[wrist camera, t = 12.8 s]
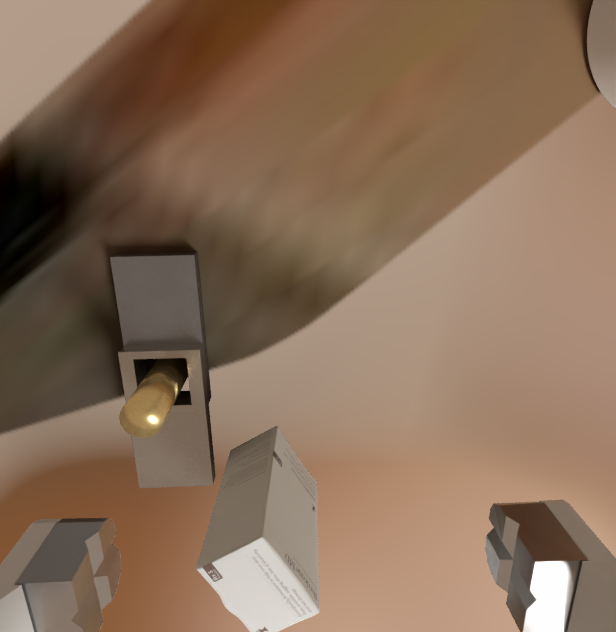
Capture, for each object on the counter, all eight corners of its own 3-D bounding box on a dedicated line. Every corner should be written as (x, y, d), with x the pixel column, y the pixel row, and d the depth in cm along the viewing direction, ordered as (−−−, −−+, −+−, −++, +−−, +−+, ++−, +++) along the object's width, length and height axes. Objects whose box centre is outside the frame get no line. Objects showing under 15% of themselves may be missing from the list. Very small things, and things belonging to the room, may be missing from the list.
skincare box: (317, 480, 46) (329, 615, 32) (269, 506, 47) (259, 649, 33) (274, 420, 44) (265, 537, 30) (223, 448, 45) (192, 575, 31)
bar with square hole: (197, 252, 39) (190, 258, 36) (217, 467, 45) (213, 485, 43) (116, 254, 39) (103, 260, 36) (148, 469, 45) (139, 488, 43)
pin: (187, 352, 42) (160, 399, 33) (191, 383, 43) (165, 437, 34) (153, 353, 41) (116, 401, 33) (157, 385, 42) (123, 438, 34)
